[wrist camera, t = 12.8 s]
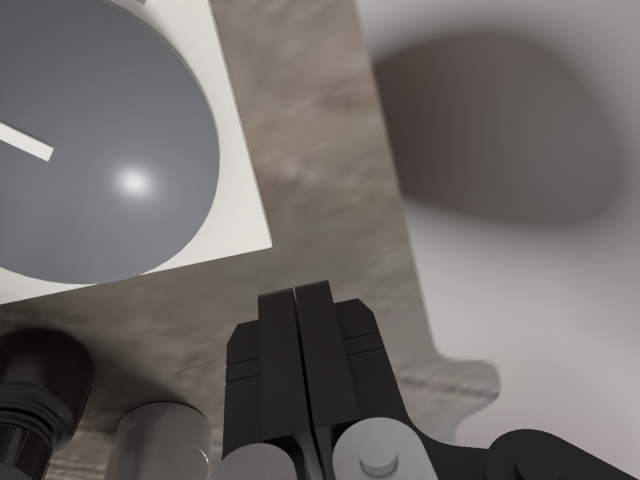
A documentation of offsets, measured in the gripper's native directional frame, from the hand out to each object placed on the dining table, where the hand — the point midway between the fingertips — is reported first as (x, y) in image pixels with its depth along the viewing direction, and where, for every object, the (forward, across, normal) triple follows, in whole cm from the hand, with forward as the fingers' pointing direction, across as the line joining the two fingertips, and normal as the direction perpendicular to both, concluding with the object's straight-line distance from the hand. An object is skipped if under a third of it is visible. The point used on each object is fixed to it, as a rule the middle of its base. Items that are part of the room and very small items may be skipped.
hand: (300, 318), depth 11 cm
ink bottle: (+27, +25, +22) cm, 43 cm away
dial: (+26, +14, +3) cm, 29 cm away
